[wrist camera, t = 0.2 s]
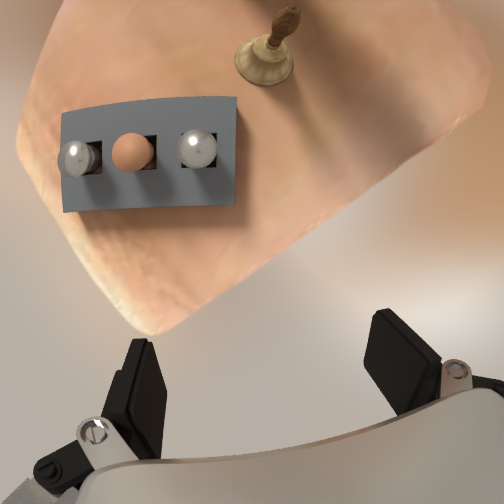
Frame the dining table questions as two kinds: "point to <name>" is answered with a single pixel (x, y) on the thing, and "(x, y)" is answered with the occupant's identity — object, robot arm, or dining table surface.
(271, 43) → the hand bell
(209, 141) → the silver rounded piece
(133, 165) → the peach grooved knob
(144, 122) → the panel
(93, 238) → the dining table surface
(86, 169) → the ball
